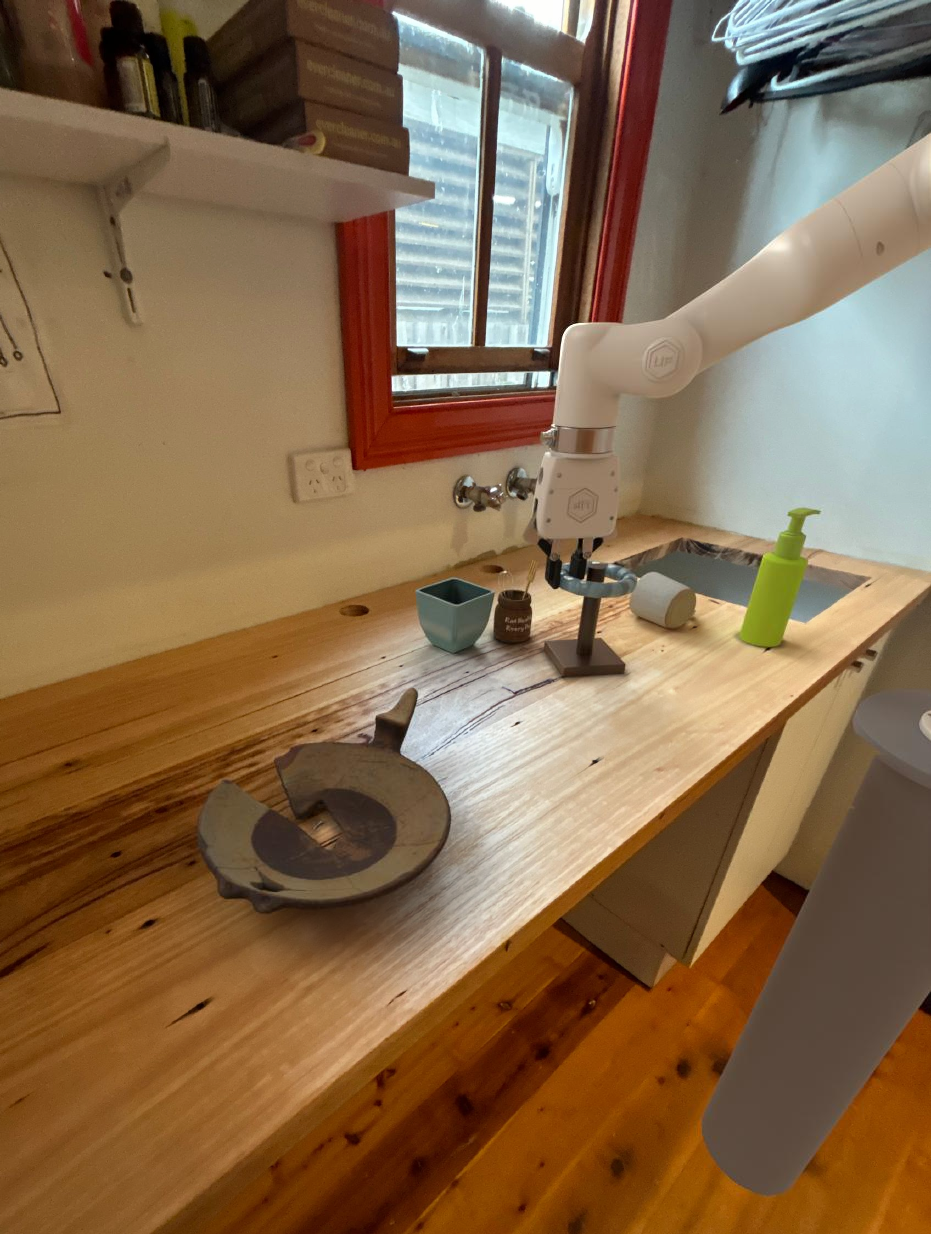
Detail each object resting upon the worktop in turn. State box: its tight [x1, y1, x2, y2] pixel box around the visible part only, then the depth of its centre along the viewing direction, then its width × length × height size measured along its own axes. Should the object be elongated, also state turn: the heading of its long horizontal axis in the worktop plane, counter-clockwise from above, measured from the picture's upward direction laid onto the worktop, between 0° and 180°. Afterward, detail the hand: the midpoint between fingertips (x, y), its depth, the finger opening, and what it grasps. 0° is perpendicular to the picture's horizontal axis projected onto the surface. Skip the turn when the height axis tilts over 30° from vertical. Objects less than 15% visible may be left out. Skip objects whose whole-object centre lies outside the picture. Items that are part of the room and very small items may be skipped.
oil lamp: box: [196, 687, 452, 915], centre depth 57 cm, size 22×30×8 cm
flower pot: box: [415, 577, 496, 654], centre depth 93 cm, size 9×9×9 cm
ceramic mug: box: [628, 571, 697, 629], centre depth 101 cm, size 11×8×8 cm
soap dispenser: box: [738, 507, 822, 648], centre depth 91 cm, size 6×7×20 cm
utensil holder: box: [492, 559, 540, 644], centre depth 95 cm, size 6×6×12 cm
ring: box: [559, 560, 638, 599], centre depth 84 cm, size 11×11×2 cm
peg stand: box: [543, 563, 626, 678], centre depth 87 cm, size 9×9×14 cm
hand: (563, 584), depth 84 cm, fingers closed on ring, 2 cm apart
